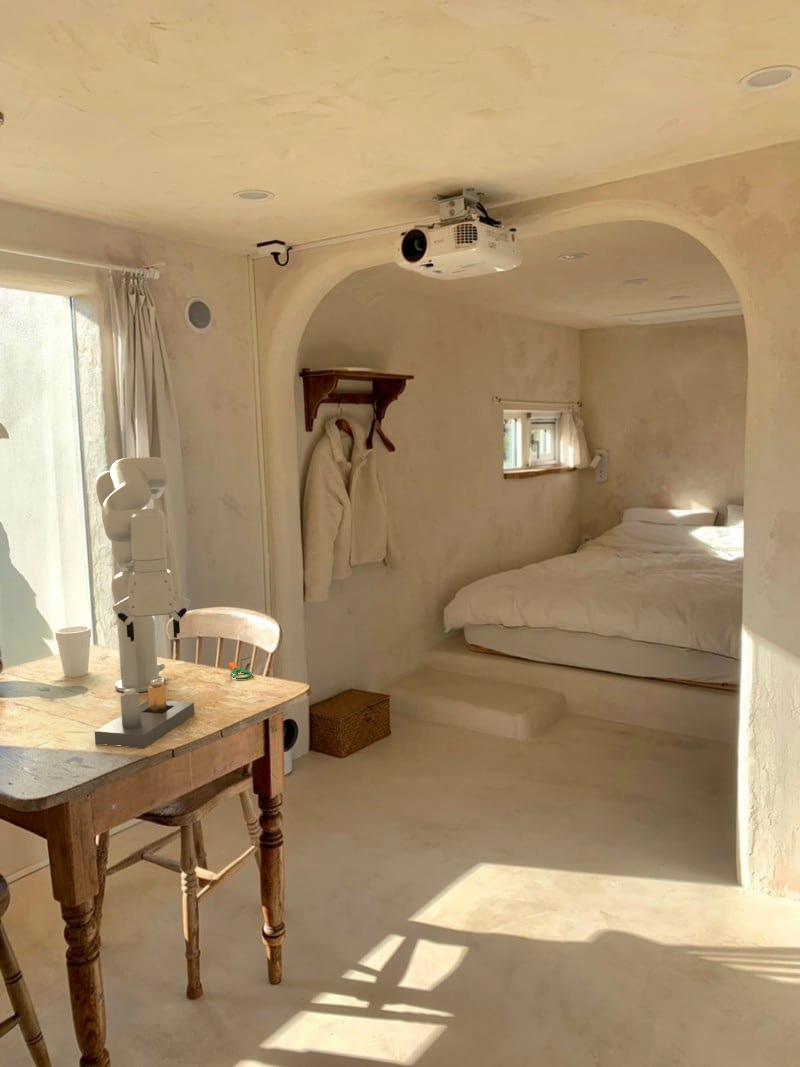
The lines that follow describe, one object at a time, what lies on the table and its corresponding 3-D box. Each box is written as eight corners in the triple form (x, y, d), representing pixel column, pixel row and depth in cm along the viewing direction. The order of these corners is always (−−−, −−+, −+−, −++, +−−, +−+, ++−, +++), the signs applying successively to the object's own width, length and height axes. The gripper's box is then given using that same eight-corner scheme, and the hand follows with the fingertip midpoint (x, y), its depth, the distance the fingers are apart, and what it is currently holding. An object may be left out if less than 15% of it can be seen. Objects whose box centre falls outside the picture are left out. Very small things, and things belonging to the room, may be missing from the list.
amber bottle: (155, 718, 194) (153, 677, 193) (170, 719, 193) (168, 678, 192) (146, 723, 190) (144, 682, 189) (161, 724, 189) (159, 683, 188)
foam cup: (51, 677, 230) (47, 632, 228) (73, 668, 239) (70, 625, 237) (79, 679, 227) (76, 634, 226) (100, 670, 236) (97, 626, 234)
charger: (150, 711, 199) (147, 667, 198) (194, 714, 196) (192, 670, 195) (95, 744, 178) (92, 695, 177) (144, 748, 175) (141, 698, 174)
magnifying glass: (255, 679, 225) (254, 673, 225) (233, 683, 222) (233, 677, 222) (241, 666, 239) (241, 660, 238) (221, 669, 236) (221, 663, 236)
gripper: (109, 570, 182) (113, 645, 184) (189, 566, 186) (192, 639, 188) (111, 565, 189) (116, 637, 191) (188, 561, 193) (191, 631, 196)
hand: (154, 638), depth 190 cm, fingers open, 9 cm apart
